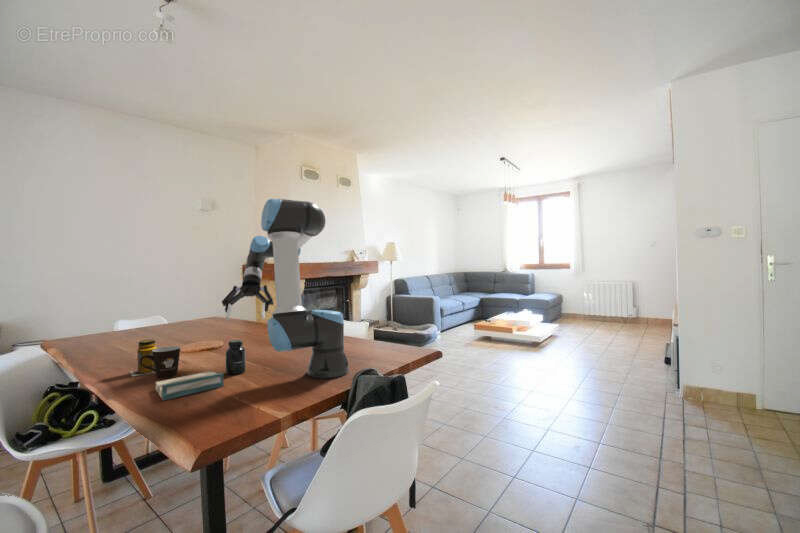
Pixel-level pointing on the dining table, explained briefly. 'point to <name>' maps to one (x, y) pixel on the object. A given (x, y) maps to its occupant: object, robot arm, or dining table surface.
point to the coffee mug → (165, 361)
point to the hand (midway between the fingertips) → (245, 317)
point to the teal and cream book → (189, 384)
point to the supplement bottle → (235, 358)
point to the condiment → (144, 350)
